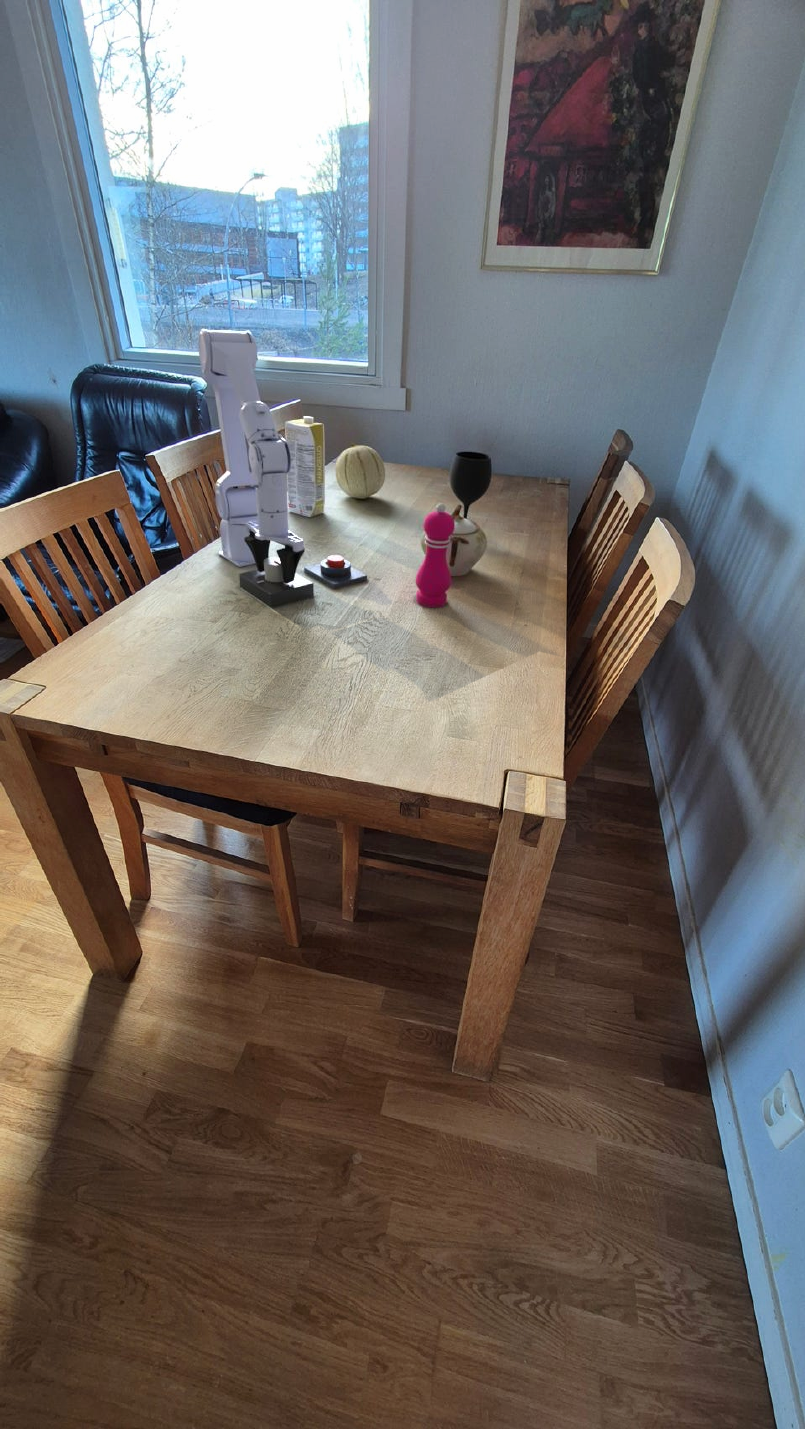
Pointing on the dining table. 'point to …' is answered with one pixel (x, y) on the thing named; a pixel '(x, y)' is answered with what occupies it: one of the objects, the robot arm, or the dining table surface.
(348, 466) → the cantaloupe
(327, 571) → the button block
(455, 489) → the wine glass
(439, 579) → the pepper mill
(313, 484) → the juice carton
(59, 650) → the dining table surface
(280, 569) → the timer knob
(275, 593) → the panel
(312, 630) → the dining table surface
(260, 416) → the robot arm
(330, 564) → the power button
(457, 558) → the sugar bowl
